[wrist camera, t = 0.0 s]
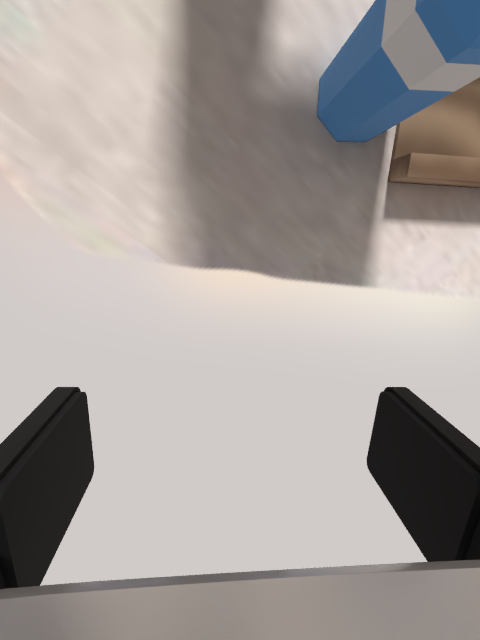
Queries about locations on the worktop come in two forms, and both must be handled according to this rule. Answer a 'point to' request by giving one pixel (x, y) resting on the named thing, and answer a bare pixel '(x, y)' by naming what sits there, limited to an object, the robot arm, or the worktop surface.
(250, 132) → the worktop surface
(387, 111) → the water bottle
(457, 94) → the u rest
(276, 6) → the worktop surface
